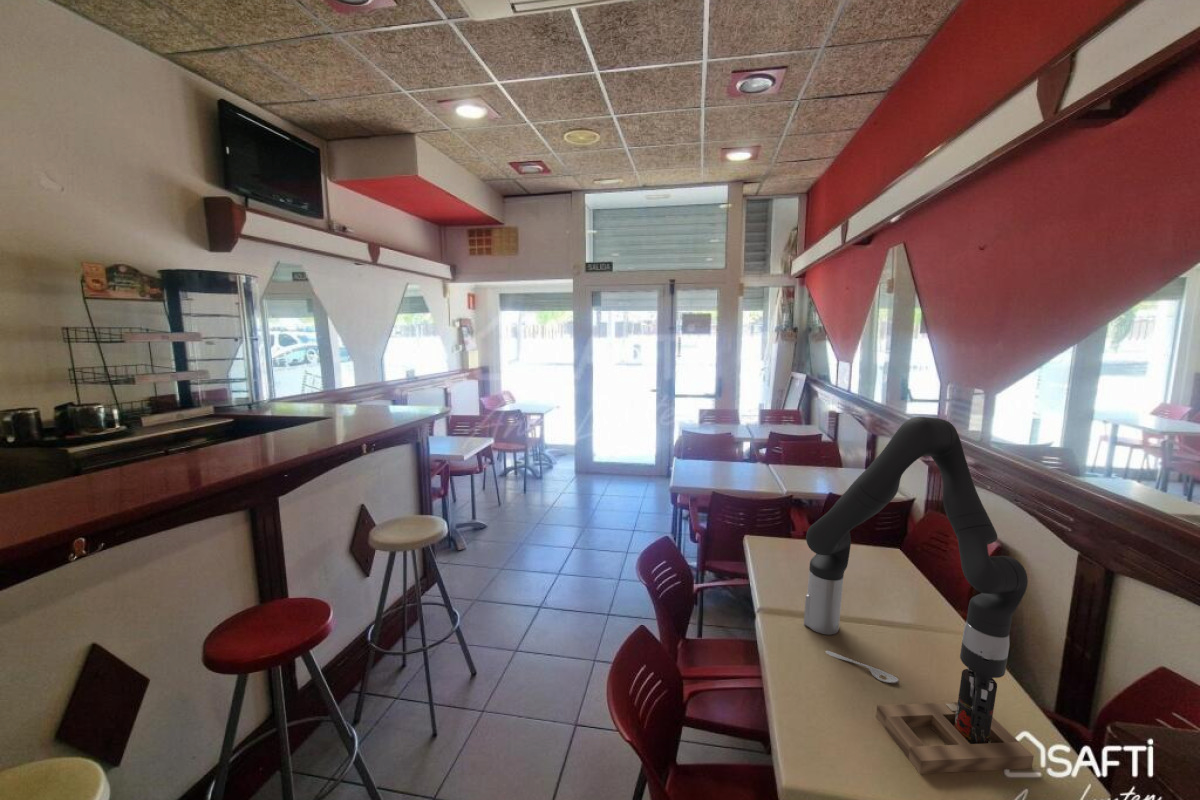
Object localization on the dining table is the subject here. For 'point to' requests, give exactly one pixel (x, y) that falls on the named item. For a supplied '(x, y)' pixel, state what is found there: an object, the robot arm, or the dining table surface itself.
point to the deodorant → (965, 712)
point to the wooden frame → (950, 741)
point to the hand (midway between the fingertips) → (974, 713)
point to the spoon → (874, 671)
